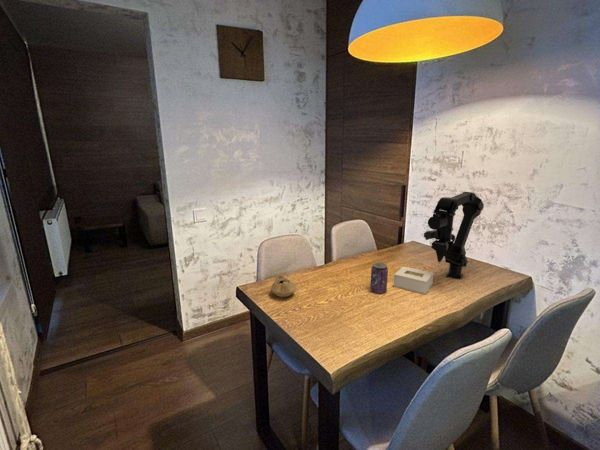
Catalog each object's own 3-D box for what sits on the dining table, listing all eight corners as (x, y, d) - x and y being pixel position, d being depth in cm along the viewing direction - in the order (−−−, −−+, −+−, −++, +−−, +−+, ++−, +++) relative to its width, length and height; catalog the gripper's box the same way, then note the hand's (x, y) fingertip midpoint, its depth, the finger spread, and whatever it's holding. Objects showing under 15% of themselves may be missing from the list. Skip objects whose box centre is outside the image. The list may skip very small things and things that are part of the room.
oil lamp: (286, 284, 149) (286, 268, 147) (301, 297, 136) (301, 280, 134) (264, 289, 144) (263, 272, 143) (277, 303, 132) (277, 285, 130)
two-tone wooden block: (407, 282, 150) (408, 272, 149) (420, 285, 147) (421, 275, 145) (405, 283, 148) (406, 273, 147) (419, 287, 145) (420, 276, 144)
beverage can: (367, 288, 145) (368, 263, 142) (380, 286, 147) (382, 261, 144) (375, 295, 138) (377, 269, 136) (389, 292, 141) (391, 267, 138)
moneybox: (402, 277, 156) (403, 266, 155) (432, 285, 148) (433, 272, 147) (393, 286, 147) (394, 274, 145) (425, 294, 139) (426, 281, 137)
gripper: (432, 219, 156) (428, 250, 159) (420, 227, 141) (417, 261, 145) (457, 222, 149) (453, 254, 153) (448, 231, 135) (444, 266, 138)
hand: (441, 259), depth 147 cm, fingers open, 9 cm apart
